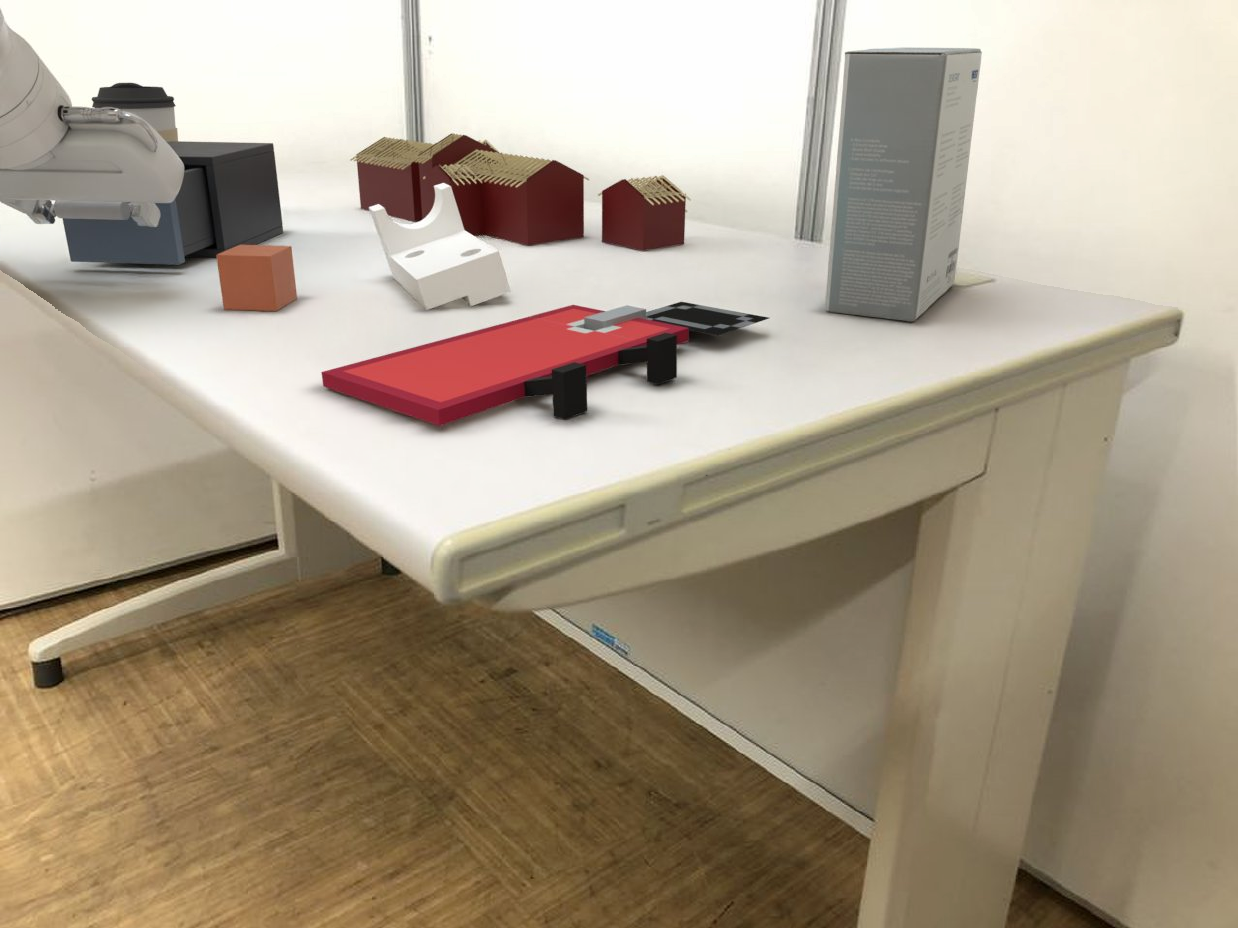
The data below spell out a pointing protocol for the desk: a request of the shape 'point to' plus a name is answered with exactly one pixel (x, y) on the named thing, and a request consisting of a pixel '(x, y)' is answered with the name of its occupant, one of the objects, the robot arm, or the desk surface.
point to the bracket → (440, 256)
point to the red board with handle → (530, 360)
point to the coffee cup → (142, 105)
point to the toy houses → (515, 194)
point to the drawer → (121, 240)
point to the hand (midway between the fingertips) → (99, 219)
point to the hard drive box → (900, 178)
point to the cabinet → (237, 191)
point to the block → (257, 277)
